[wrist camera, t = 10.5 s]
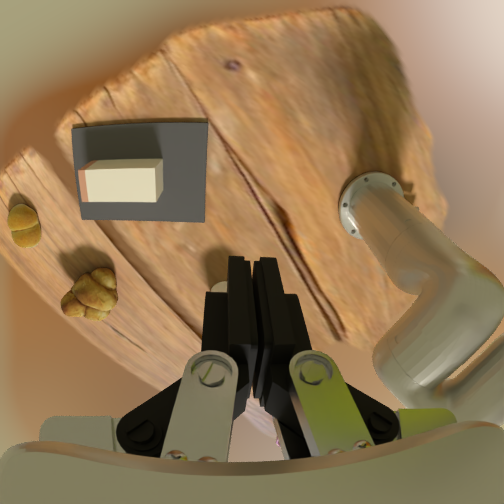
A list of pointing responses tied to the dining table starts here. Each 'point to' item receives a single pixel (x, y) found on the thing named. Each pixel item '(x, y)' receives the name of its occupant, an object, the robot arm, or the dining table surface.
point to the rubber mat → (149, 147)
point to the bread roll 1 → (24, 226)
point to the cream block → (121, 180)
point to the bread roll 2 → (91, 295)
